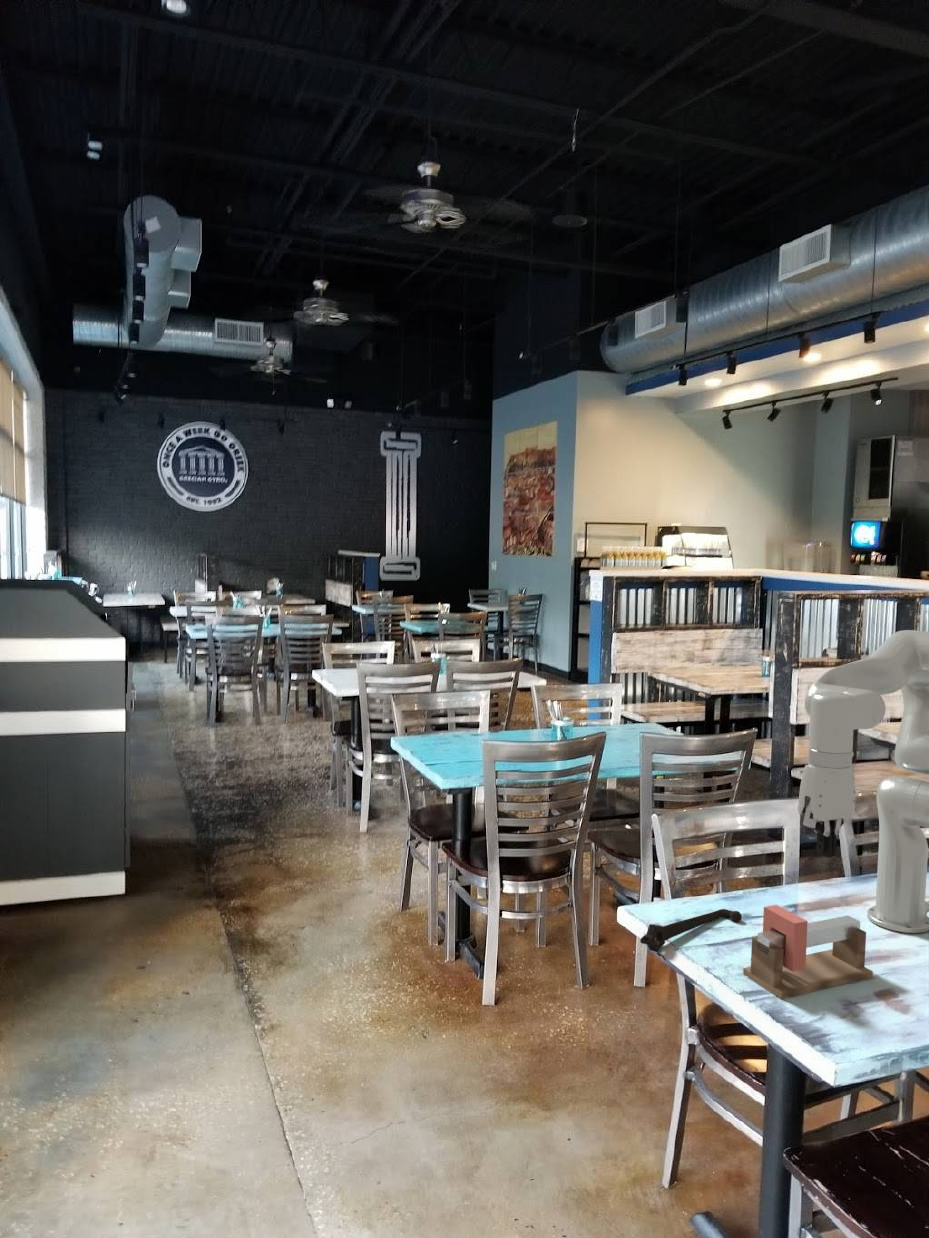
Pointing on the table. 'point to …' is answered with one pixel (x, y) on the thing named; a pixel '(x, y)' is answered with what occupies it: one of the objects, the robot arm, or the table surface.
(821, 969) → the pipe stand
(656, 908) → the table surface
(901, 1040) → the table surface
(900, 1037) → the table surface
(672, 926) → the wrench
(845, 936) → the rod
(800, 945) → the salmon pink rectangular block
